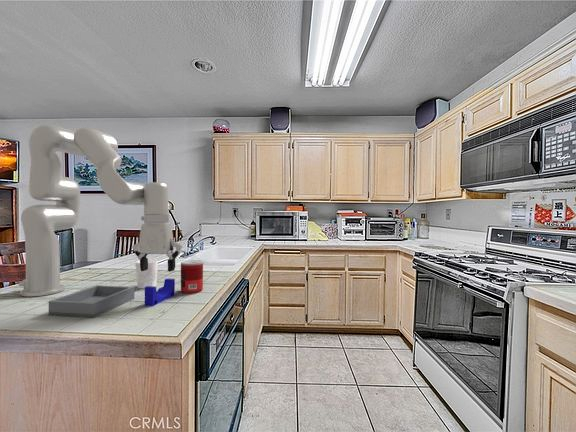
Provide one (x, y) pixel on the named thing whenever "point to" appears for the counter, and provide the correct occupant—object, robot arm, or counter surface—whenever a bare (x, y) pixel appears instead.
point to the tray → (91, 301)
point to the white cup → (147, 274)
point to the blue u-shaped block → (159, 293)
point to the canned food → (191, 276)
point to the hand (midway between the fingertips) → (157, 270)
